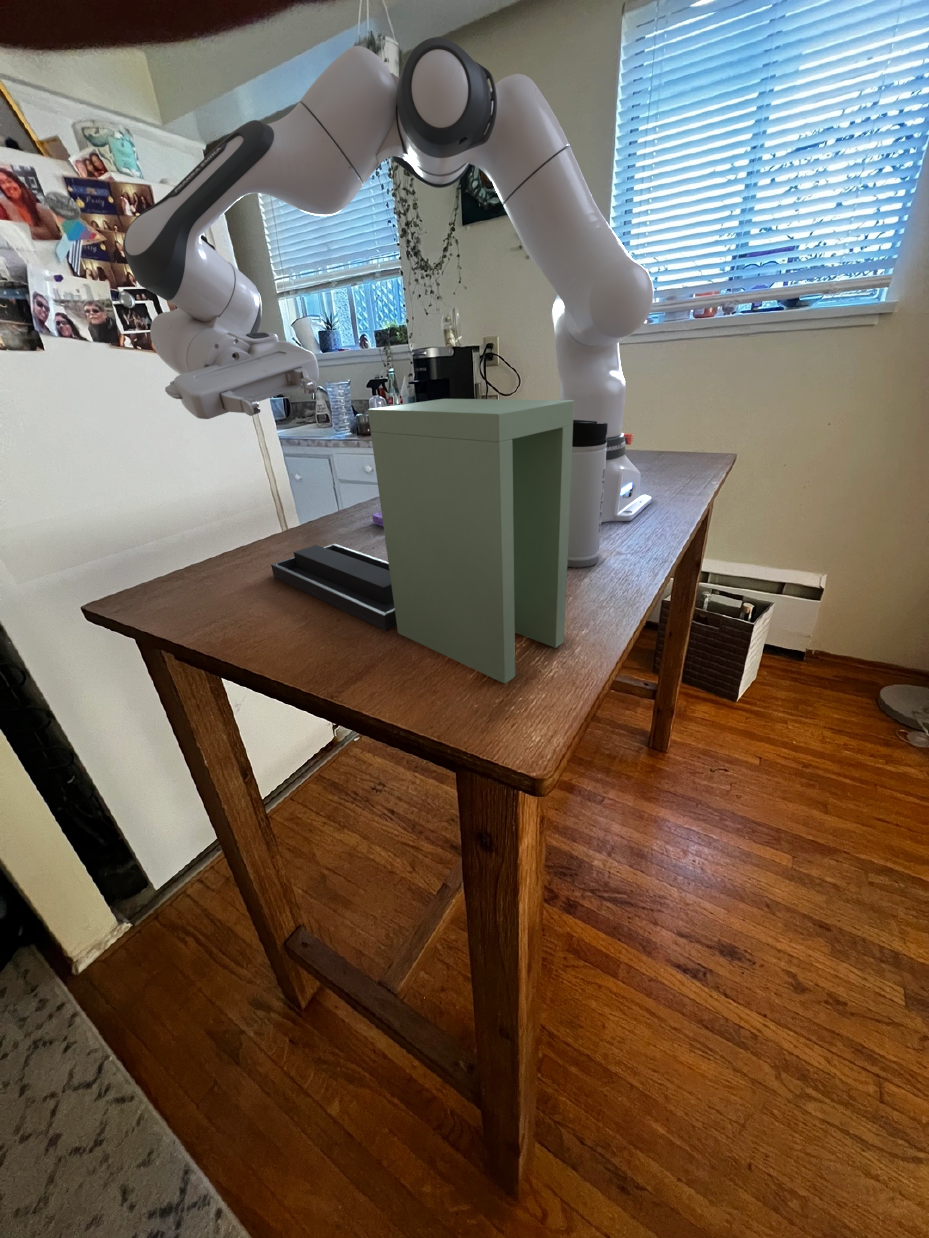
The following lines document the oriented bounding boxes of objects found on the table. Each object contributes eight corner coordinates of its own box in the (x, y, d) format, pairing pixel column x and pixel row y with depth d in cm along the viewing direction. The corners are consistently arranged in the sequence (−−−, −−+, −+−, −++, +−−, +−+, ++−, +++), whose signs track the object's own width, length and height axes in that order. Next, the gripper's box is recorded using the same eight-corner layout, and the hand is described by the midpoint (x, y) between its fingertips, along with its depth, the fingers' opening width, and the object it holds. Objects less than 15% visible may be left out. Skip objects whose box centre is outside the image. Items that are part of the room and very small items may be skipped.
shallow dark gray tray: (336, 555, 82) (334, 543, 81) (453, 598, 65) (452, 583, 64) (273, 577, 76) (270, 564, 75) (386, 631, 58) (383, 615, 57)
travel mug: (545, 558, 76) (548, 417, 67) (581, 550, 78) (589, 412, 69) (569, 571, 71) (575, 421, 62) (607, 562, 73) (619, 415, 64)
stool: (458, 602, 64) (444, 398, 53) (564, 642, 54) (574, 400, 43) (397, 633, 58) (367, 409, 47) (504, 684, 48) (498, 413, 37)
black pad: (319, 559, 79) (316, 544, 78) (409, 594, 66) (407, 577, 64) (296, 567, 77) (293, 552, 76) (386, 605, 63) (383, 587, 62)
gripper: (149, 363, 66) (207, 398, 61) (280, 329, 78) (339, 355, 72) (167, 410, 71) (223, 446, 65) (288, 371, 82) (344, 399, 77)
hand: (284, 398), depth 69 cm, fingers open, 8 cm apart
